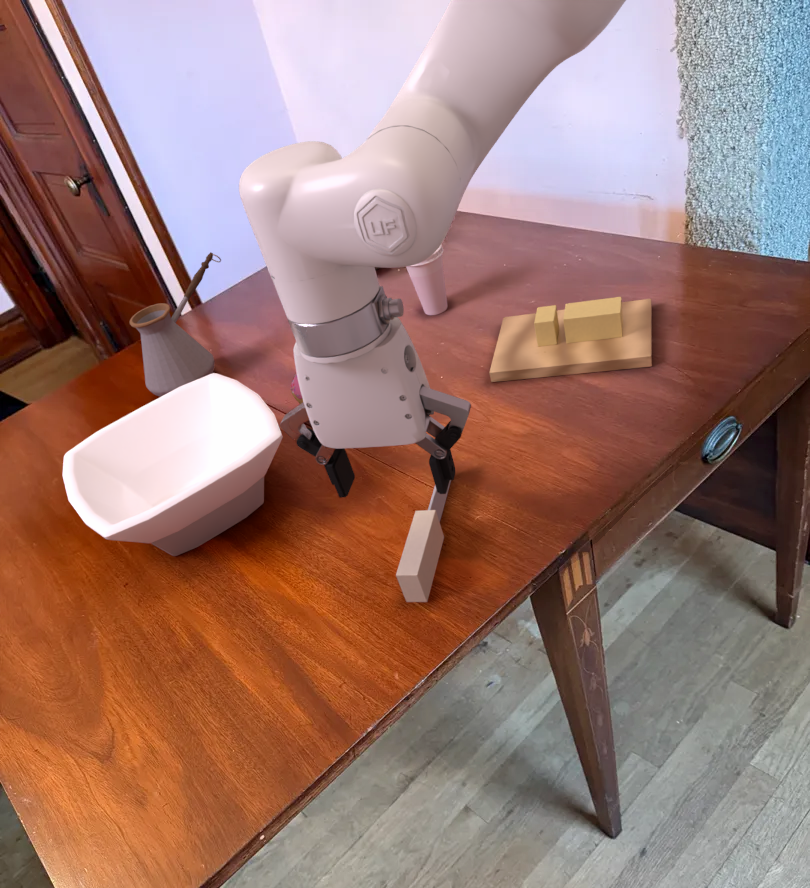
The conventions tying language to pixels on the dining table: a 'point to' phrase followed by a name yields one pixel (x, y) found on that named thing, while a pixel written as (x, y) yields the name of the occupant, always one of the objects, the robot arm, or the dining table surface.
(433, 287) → the smoothie
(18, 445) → the dining table surface
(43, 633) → the dining table surface
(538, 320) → the butter slice
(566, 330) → the butter
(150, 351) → the coffee pot
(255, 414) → the bowl
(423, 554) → the knife
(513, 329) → the board
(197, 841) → the dining table surface
